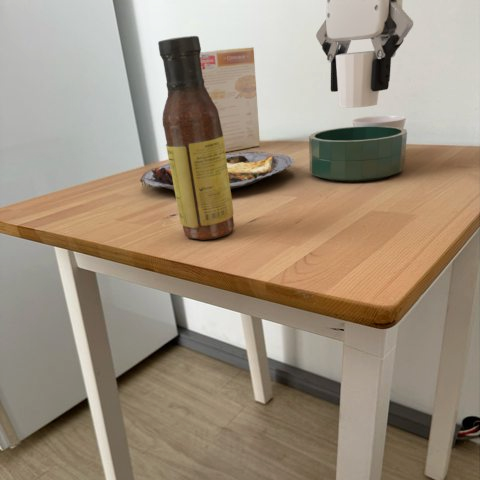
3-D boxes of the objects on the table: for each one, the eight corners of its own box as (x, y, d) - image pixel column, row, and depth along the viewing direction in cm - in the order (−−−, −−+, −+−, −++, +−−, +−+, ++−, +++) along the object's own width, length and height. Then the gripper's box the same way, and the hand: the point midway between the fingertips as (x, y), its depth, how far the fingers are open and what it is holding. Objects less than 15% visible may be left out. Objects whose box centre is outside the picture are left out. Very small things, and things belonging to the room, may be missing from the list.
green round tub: (349, 160, 85) (350, 124, 82) (422, 168, 75) (426, 128, 72) (291, 176, 77) (290, 137, 74) (363, 188, 67) (365, 144, 64)
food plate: (115, 196, 75) (110, 174, 74) (189, 165, 93) (187, 146, 91) (258, 203, 65) (256, 177, 63) (311, 166, 83) (310, 145, 81)
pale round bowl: (353, 152, 91) (354, 117, 88) (402, 150, 88) (405, 114, 85) (349, 162, 83) (350, 123, 80) (403, 160, 81) (406, 121, 78)
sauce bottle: (240, 224, 57) (223, 34, 48) (227, 242, 52) (206, 32, 42) (189, 224, 59) (163, 40, 49) (172, 242, 54) (139, 40, 44)
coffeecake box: (245, 143, 111) (237, 48, 102) (261, 146, 106) (255, 46, 96) (187, 153, 105) (174, 53, 96) (201, 157, 100) (189, 51, 90)
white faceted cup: (341, 103, 75) (342, 53, 72) (385, 101, 72) (389, 49, 69) (329, 109, 70) (329, 55, 67) (376, 107, 67) (379, 50, 64)
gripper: (441, -76, 57) (425, 87, 66) (332, -45, 70) (331, 88, 78) (405, -81, 53) (392, 93, 62) (296, -48, 66) (299, 93, 74)
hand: (358, 89), depth 70 cm, fingers closed on white faceted cup, 6 cm apart
